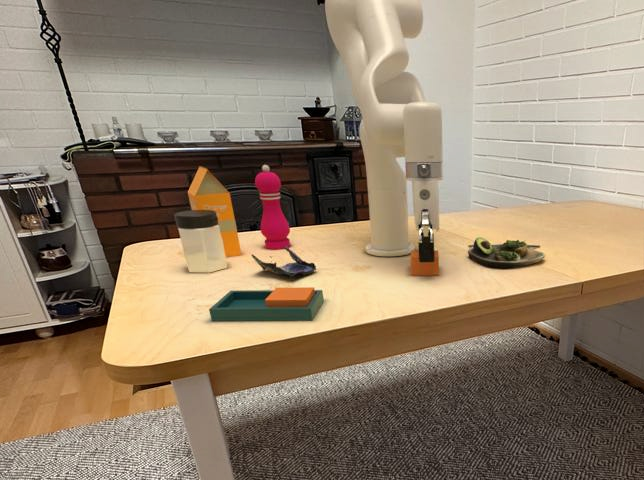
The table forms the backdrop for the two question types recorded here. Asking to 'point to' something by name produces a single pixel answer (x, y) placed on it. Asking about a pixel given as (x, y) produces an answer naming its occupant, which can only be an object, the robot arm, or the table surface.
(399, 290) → the table surface
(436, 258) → the orange block
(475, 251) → the salad plate
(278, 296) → the fitted pad
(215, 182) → the orange juice
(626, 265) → the table surface
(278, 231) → the pepper mill
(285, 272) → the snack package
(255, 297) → the tray
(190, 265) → the jar
